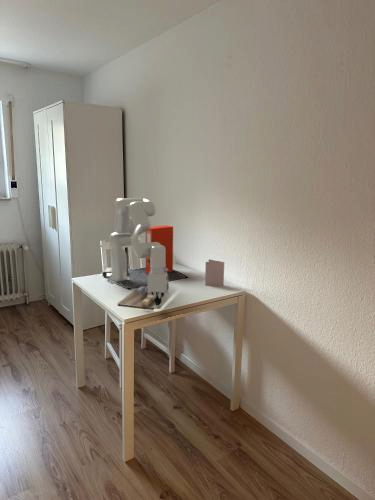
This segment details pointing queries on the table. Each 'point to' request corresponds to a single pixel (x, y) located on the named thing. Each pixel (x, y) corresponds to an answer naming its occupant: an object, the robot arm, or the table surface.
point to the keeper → (142, 290)
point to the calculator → (109, 271)
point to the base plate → (136, 300)
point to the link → (148, 299)
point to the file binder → (164, 238)
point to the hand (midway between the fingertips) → (158, 304)
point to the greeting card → (214, 273)
